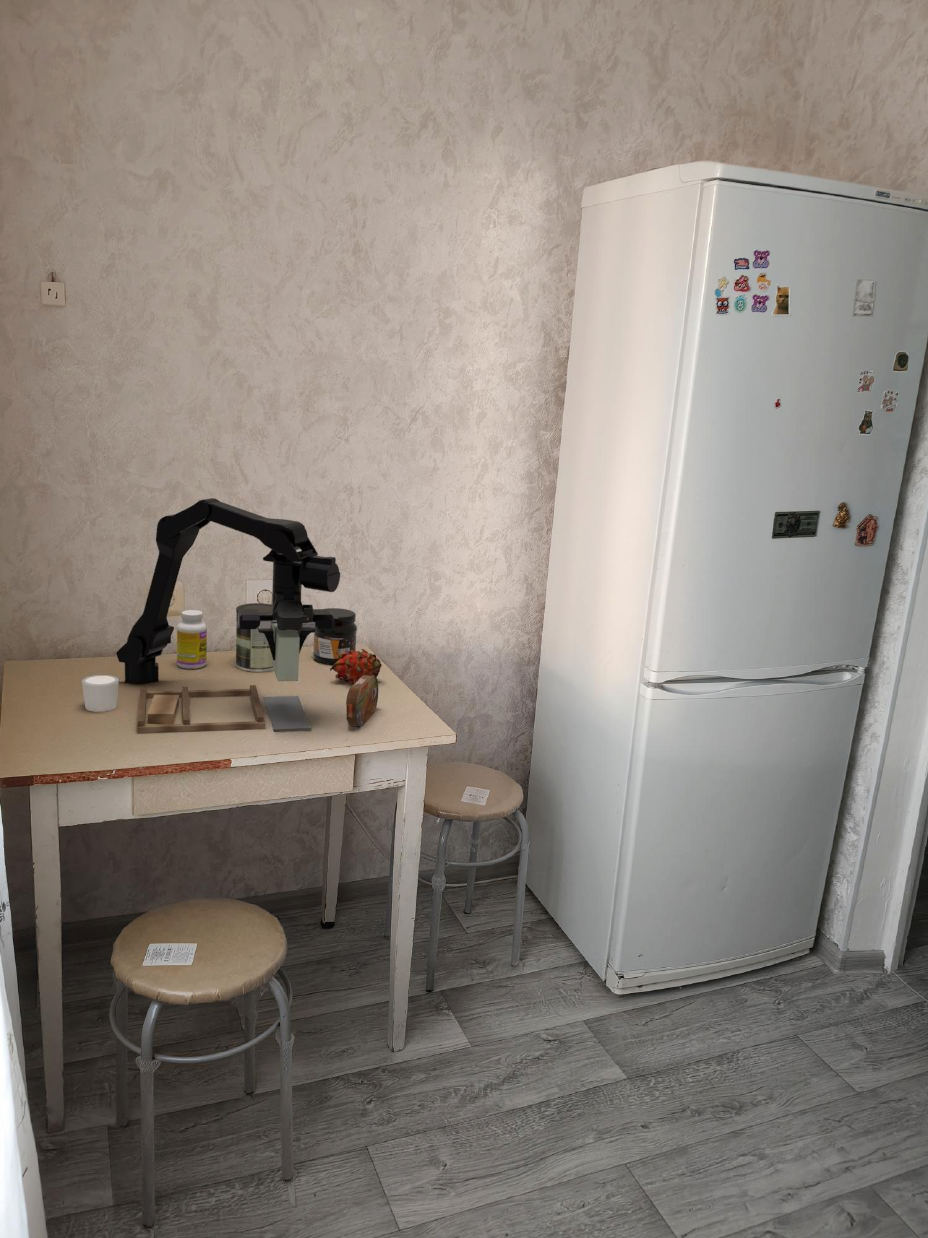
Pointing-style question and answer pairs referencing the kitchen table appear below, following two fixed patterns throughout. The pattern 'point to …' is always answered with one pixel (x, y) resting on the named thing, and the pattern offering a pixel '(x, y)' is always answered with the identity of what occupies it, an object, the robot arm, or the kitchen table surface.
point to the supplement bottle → (191, 640)
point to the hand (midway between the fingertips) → (284, 659)
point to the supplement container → (335, 637)
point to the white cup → (100, 692)
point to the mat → (286, 713)
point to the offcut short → (163, 709)
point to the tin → (362, 700)
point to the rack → (186, 725)
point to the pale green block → (286, 654)
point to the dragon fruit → (356, 665)
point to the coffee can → (253, 644)
